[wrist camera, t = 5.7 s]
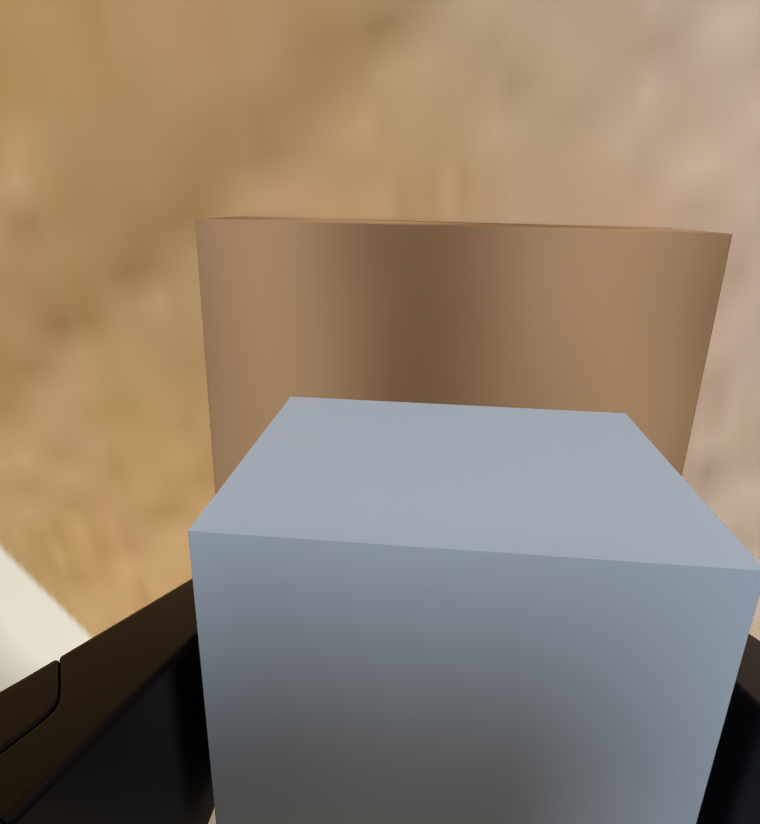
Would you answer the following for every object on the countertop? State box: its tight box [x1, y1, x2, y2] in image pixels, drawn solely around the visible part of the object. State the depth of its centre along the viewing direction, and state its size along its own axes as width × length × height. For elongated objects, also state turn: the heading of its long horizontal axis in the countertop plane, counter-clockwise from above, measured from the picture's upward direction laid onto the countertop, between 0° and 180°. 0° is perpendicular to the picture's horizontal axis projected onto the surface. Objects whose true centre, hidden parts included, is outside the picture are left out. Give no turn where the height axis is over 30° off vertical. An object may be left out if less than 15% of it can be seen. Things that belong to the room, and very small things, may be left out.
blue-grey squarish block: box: [188, 397, 760, 824], centre depth 8 cm, size 5×5×4 cm
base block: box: [195, 217, 732, 494], centre depth 14 cm, size 10×10×3 cm
